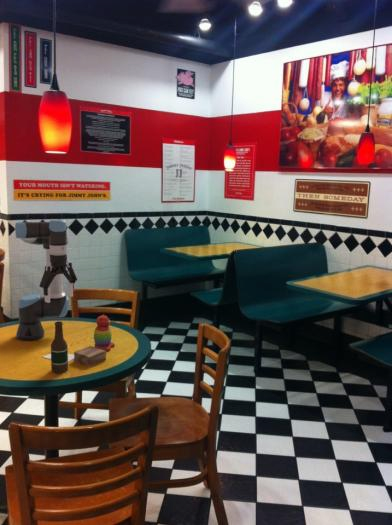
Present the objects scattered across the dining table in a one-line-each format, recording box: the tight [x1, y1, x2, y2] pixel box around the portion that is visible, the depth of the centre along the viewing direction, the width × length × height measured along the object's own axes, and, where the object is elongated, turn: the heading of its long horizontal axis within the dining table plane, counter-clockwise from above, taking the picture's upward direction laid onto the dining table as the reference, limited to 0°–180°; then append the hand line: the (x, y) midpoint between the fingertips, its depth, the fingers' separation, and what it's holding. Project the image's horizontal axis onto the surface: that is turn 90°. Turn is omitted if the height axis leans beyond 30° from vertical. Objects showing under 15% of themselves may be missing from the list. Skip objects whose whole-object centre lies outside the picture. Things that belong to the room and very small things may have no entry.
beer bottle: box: [50, 320, 69, 375], centre depth 238 cm, size 8×8×24 cm
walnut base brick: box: [73, 345, 107, 367], centre depth 254 cm, size 11×11×5 cm
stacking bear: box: [93, 314, 116, 353], centre depth 271 cm, size 11×10×18 cm
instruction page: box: [42, 352, 74, 363], centre depth 258 cm, size 15×10×1 cm, turn 66°
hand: (59, 299), depth 235 cm, fingers open, 13 cm apart
